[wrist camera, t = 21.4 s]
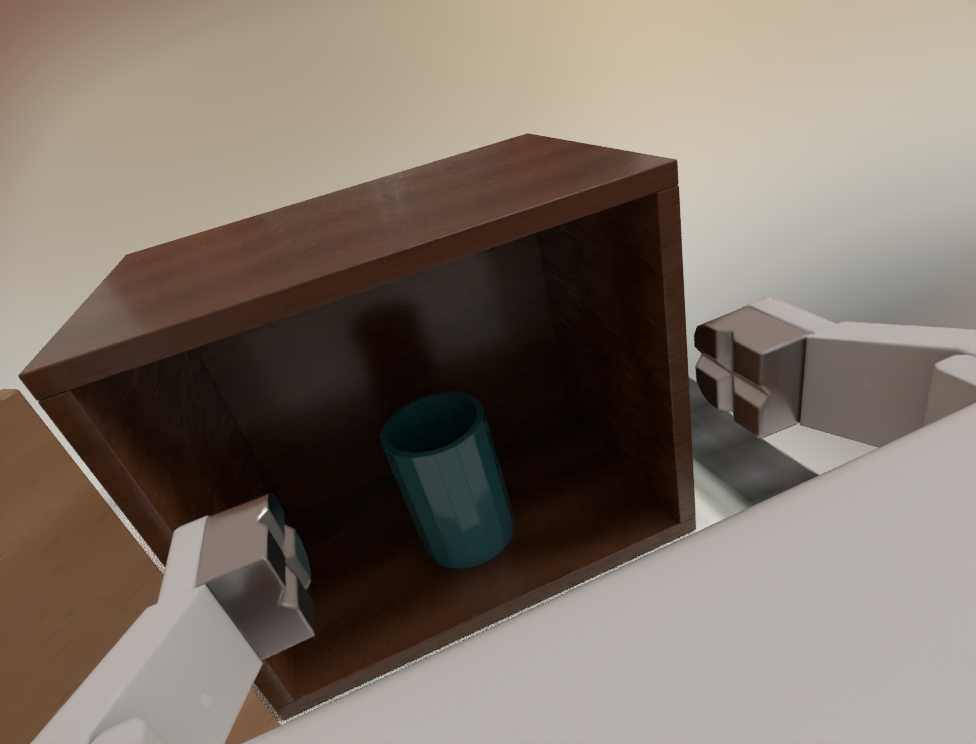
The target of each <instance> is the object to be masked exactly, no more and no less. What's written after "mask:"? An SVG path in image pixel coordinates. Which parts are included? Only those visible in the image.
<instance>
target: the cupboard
mask: <svg viewBox="0 0 976 744" xmlns="http://www.w3.org/2000/svg"><path fill="white" fill-rule="evenodd" d="M679 200H680V199H679V186H678V167H677V160H676V159H670V158H664V157H658V156H653V155H647V154H641V153H636V152H630V151H624V150H619V149H613V148H607V147H602V146H596V145H590V144H584V143H579V142H573V141H567V140H562V139H556V138H550V137H545V136H539V135H533V134H525V135H521V136H518V137H515V138H511V139H508V140H504V141H501V142H498V143H495V144H492V145H488V146H485V147H481V148H478V149H475V150H471V151H469V152H465V153H462V154H458V155H455V156H452V157H448V158H445V159H442V160H438V161H435V162H432V163H428V164H425V165H422V166H418V167H415V168H412V169H409V170H405V171H402V172H399V173H395V174H392V175H389V176H386V177H382V178H379V179H376V180H372V181H369V182H366V183H362V184H359V185H356V186H352V187H350V188H346V189H343V190H339V191H336V192H333V193H329V194H326V195H323V196H319V197H316V198H313V199H309V200H306V201H303V202H300V203H296V204H293V205H290V206H286V207H283V208H280V209H276V210H273V211H270V212H266V213H263V214H260V215H256V216H253V217H250V218H247V219H243V220H240V221H237V222H233V223H230V224H227V225H223V226H220V227H217V228H214V229H210V230H207V231H204V232H200V233H197V234H194V235H190V236H187V237H184V238H180V239H177V240H174V241H170V242H167V243H164V244H161V245H157V246H154V247H151V248H147V249H144V250H141V251H138V252H134V253H131V254H128V255H126V256H125V257H124V258H123V259H122V260H121V261H120V262H119V264H118V265H117V266H116V267H115V268H114V269H113V270H112V271H111V273H110V274H109V275H108V276H107V277H106V278H105V279H104V280H103V282H102V283H101V284H100V285H99V286H98V287H97V288H96V289H95V291H93V293H92V294H91V295H90V296H89V297H88V298H87V299H86V300H85V302H84V303H83V304H82V305H81V306H80V307H79V308H78V309H77V310H76V312H75V313H74V314H73V315H72V316H71V317H70V318H69V319H68V321H67V322H66V323H65V324H64V325H63V326H62V327H61V328H60V329H59V331H58V332H57V333H56V334H55V335H54V336H53V337H52V338H51V339H50V341H49V342H48V343H47V344H46V345H45V346H44V347H43V348H42V350H41V351H40V352H39V353H38V354H37V355H36V356H35V357H34V359H33V360H32V361H31V362H30V363H29V364H28V365H27V366H26V367H25V368H24V370H23V371H22V372H21V373H20V374H19V375H18V376H19V378H20V380H21V381H22V382H23V383H24V385H25V386H26V387H27V389H28V390H29V391H30V392H31V394H32V395H33V396H34V398H35V399H36V400H37V401H38V400H39V401H38V403H39V404H40V406H41V407H42V408H43V410H44V411H45V412H46V413H47V415H48V416H49V417H50V419H51V420H52V421H53V423H54V424H55V425H56V426H57V428H58V429H59V430H60V432H61V433H62V434H63V435H64V437H65V438H66V439H67V441H68V442H69V443H70V445H71V446H72V447H73V448H74V450H75V451H76V452H77V454H78V455H79V456H80V458H81V459H82V460H83V461H84V463H85V464H86V465H87V467H88V468H89V469H90V471H91V472H92V473H93V474H94V476H95V477H96V478H97V480H98V481H99V482H100V484H101V485H102V486H103V487H104V489H105V490H106V491H107V493H108V494H109V495H110V496H111V498H112V499H113V500H114V502H115V503H116V504H117V506H118V507H119V508H120V509H121V511H122V512H123V513H124V515H125V516H126V517H127V519H128V520H129V521H130V522H131V524H132V525H133V526H134V528H135V529H136V530H137V532H138V533H139V534H140V535H141V537H142V538H143V539H144V541H145V542H146V543H147V544H148V546H149V547H150V548H151V550H152V551H153V552H154V554H155V555H156V556H157V557H158V559H159V560H160V561H161V563H162V564H163V565H164V567H166V562H167V558H168V554H169V549H170V545H171V541H172V537H173V533H174V531H175V530H176V529H177V528H178V527H179V526H182V525H184V524H187V523H189V522H192V521H194V520H197V519H199V518H202V517H204V516H210V515H211V514H213V513H215V512H218V511H221V510H224V509H226V508H229V507H232V506H234V505H237V504H240V503H243V502H245V501H248V500H251V499H253V498H256V497H259V496H261V495H264V494H267V493H270V492H271V493H272V494H274V495H275V496H276V497H277V499H278V501H279V502H280V504H281V506H282V507H283V509H284V522H285V525H287V526H289V527H292V528H294V529H295V530H296V532H297V534H298V535H299V537H300V539H301V541H302V544H303V546H304V548H305V551H306V554H307V558H308V562H309V566H310V573H311V583H310V584H309V586H308V588H307V589H306V591H307V593H308V595H309V597H310V598H311V600H312V602H313V613H314V628H315V636H313V637H311V638H309V639H307V640H304V641H302V642H300V643H298V644H296V645H294V646H292V647H290V648H287V649H285V650H283V651H281V652H279V653H277V654H275V655H273V656H271V657H268V658H266V659H264V660H262V663H263V664H262V666H261V668H260V670H259V673H258V675H257V677H256V679H255V681H254V683H255V685H256V686H257V687H258V688H259V690H260V691H261V692H262V694H263V695H264V696H265V697H266V699H267V700H268V701H269V703H270V704H271V705H272V707H273V708H274V709H275V710H276V712H277V713H278V714H279V716H280V717H281V718H282V720H285V719H287V718H289V717H291V716H293V715H295V714H298V713H300V712H302V711H304V710H306V709H308V708H311V707H313V706H315V705H317V704H319V703H321V702H323V701H326V700H328V699H330V698H332V697H334V696H336V695H339V694H341V693H343V692H345V691H347V690H349V689H352V688H354V687H356V686H358V685H360V684H362V683H365V682H367V681H369V680H371V679H373V678H375V677H377V676H380V675H382V674H384V673H386V672H388V671H390V670H393V669H395V668H397V667H399V666H401V665H403V664H406V663H408V662H410V661H412V660H414V659H416V658H419V657H421V656H423V655H425V654H427V653H429V652H431V651H434V650H436V649H438V648H440V647H442V646H444V645H447V644H449V643H451V642H453V641H455V640H457V639H460V638H462V637H464V636H466V635H468V634H470V633H473V632H475V631H477V630H479V629H481V628H483V627H486V626H488V625H490V624H492V623H494V622H496V621H498V620H501V619H503V618H505V617H507V616H509V615H511V614H514V613H516V612H518V611H520V610H522V609H524V608H527V607H529V606H531V605H533V604H535V603H537V602H540V601H542V600H544V599H546V598H548V597H550V596H552V595H555V594H557V593H559V592H561V591H563V590H565V589H568V588H570V587H572V586H574V585H576V584H578V583H581V582H583V581H585V580H587V579H589V578H591V577H594V576H596V575H598V574H600V573H602V572H604V571H607V570H609V569H611V568H613V567H615V566H617V565H619V564H622V563H624V562H626V561H628V560H630V559H632V558H635V557H637V556H639V555H641V554H643V553H645V552H648V551H650V550H652V549H654V548H656V547H658V546H661V545H663V544H665V543H667V542H669V541H671V540H673V539H676V538H678V537H680V536H682V535H684V534H686V533H689V532H691V531H693V530H695V529H696V520H695V497H694V477H693V457H692V437H691V417H690V398H689V378H688V358H687V339H686V318H685V299H684V280H683V259H682V239H681V219H680V201H679ZM445 391H453V392H464V393H467V394H469V395H471V396H473V397H476V398H477V399H478V400H479V401H480V403H481V404H482V406H483V407H484V410H485V414H486V417H487V421H488V424H489V428H490V431H491V435H492V439H493V442H494V446H495V449H496V453H497V456H498V460H499V464H500V467H501V471H502V474H503V478H504V481H505V485H506V489H507V492H508V496H509V499H510V503H511V506H512V510H513V517H514V523H515V525H514V531H513V535H512V537H511V539H510V541H509V543H508V544H507V546H506V547H505V548H504V549H503V550H502V551H501V552H500V553H499V554H498V555H497V556H495V557H494V558H492V559H491V560H489V561H487V562H485V563H483V564H481V565H478V566H475V567H471V568H465V569H453V568H447V567H444V566H441V565H439V564H437V563H436V562H434V561H433V560H432V559H431V558H430V557H429V556H428V554H427V553H426V551H425V549H424V547H423V545H422V542H421V540H420V537H419V535H418V532H417V530H416V528H415V525H414V523H413V520H412V518H411V515H410V513H409V510H408V508H407V506H406V503H405V501H404V498H403V496H402V493H401V491H400V489H399V486H398V484H397V481H396V479H395V476H394V474H393V472H392V469H391V467H390V464H389V462H388V459H387V457H386V454H385V452H384V450H383V447H382V444H381V440H380V433H381V430H382V428H383V425H384V423H385V422H386V421H387V420H388V418H389V417H390V416H391V415H392V414H393V413H394V412H395V411H396V410H398V409H399V408H401V407H402V406H404V405H405V404H407V403H409V402H410V401H412V400H415V399H418V398H420V397H423V396H426V395H428V394H433V393H439V392H445Z"/></svg>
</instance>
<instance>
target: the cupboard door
mask: <svg viewBox="0 0 976 744" xmlns="http://www.w3.org/2000/svg"><path fill="white" fill-rule="evenodd" d="M162 579H163V574H162V573H161V571H160V570H159V569H158V568H157V566H156V565H155V564H154V562H153V561H152V560H151V559H150V557H149V556H148V555H147V554H146V552H145V551H144V550H143V548H142V547H141V546H140V545H139V543H138V542H137V541H136V539H135V538H134V537H133V536H132V534H131V533H130V532H129V530H128V529H127V528H126V527H125V525H124V524H123V523H122V522H121V520H120V519H119V518H118V516H117V515H116V514H115V513H114V511H113V510H112V509H111V507H110V506H109V505H108V504H107V502H106V501H105V500H104V499H103V497H102V496H101V495H100V493H99V492H98V491H97V490H96V489H95V487H94V486H93V484H92V483H91V482H90V481H89V479H88V478H87V477H86V476H85V474H84V473H83V472H82V471H81V469H80V468H79V467H78V465H77V464H76V463H75V461H74V460H73V459H72V458H71V456H70V455H69V454H68V453H67V451H66V450H65V449H64V447H63V446H62V445H61V444H60V442H59V441H58V440H57V438H56V437H55V436H54V435H53V433H52V432H51V431H50V429H49V428H48V427H47V426H46V425H45V423H44V422H43V421H42V419H41V418H40V417H39V415H38V414H37V413H36V412H35V410H34V409H33V408H32V406H31V405H30V404H29V403H28V401H27V400H26V399H25V397H24V396H23V395H22V394H21V392H20V391H19V390H17V389H2V390H0V744H30V743H31V742H32V741H33V740H34V739H35V737H36V736H37V735H38V734H39V733H40V732H41V730H42V729H43V728H44V727H45V726H46V725H47V723H48V722H49V721H50V720H51V719H52V718H53V716H54V715H55V714H56V713H57V712H58V711H59V709H60V708H61V707H62V706H63V705H64V704H65V702H66V701H67V700H68V699H69V698H70V697H71V696H72V694H73V693H74V692H75V691H76V690H77V689H78V687H79V686H80V685H81V684H82V683H83V682H84V680H85V679H86V678H87V677H88V676H89V675H90V673H91V672H92V671H93V670H94V669H95V668H96V666H97V665H98V664H99V663H100V662H101V661H102V659H103V658H104V657H105V656H106V655H107V654H108V652H109V651H110V650H111V649H112V648H113V647H114V645H115V644H116V643H117V642H118V641H119V640H120V638H121V637H122V636H123V635H124V634H125V633H126V631H127V630H128V629H129V628H130V627H131V626H132V624H133V623H134V622H135V621H136V620H137V619H138V617H139V616H140V615H141V614H142V613H143V612H144V610H145V609H146V608H148V607H150V606H152V605H155V604H157V601H158V596H159V592H160V588H161V584H162ZM279 726H281V725H280V724H279V722H278V721H277V720H276V719H275V717H274V716H273V715H272V713H271V712H270V711H269V710H268V708H267V707H266V706H265V704H264V703H263V702H262V701H261V699H260V698H259V697H258V696H257V694H256V693H255V692H254V690H253V689H252V688H251V689H250V691H249V693H248V696H247V698H246V700H245V702H244V704H243V706H242V708H241V710H240V712H239V714H238V716H237V719H236V721H235V723H234V725H233V727H232V729H231V731H230V733H229V735H228V737H227V739H226V742H225V744H242V743H244V742H246V741H249V740H251V739H253V738H255V737H257V736H259V735H262V734H264V733H266V732H268V731H270V730H272V729H274V728H277V727H279Z"/></svg>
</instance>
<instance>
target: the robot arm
mask: <svg viewBox="0 0 976 744" xmlns="http://www.w3.org/2000/svg"><path fill="white" fill-rule="evenodd" d="M694 341H695V343H694V344H695V347H696V348H697V349H698V350H699V351H700V352H701V353H702V354H701V356H700V358H699V360H698V362H697V365H696V366H695V367H696V379H697V383H698V385H699V388H700V390H701V392H702V394H703V395H704V397H705V398H706V399H707V400H708V402H709V403H711V404H712V405H713V406H715V407H716V408H717V409H721V410H726V411H731V412H733V414H734V421H735V422H737V423H738V424H740V425H741V426H742V427H744V428H745V429H747V430H748V431H749V432H751V433H752V434H754V435H755V436H756V437H758V438H759V439H762V438H764V437H766V436H769V435H772V434H774V433H777V432H779V431H781V430H784V429H786V428H789V427H791V426H794V425H796V424H798V423H800V425H802V426H806V427H809V428H812V429H816V430H819V431H823V432H826V433H830V434H833V435H837V436H841V437H844V438H847V439H851V440H855V441H858V442H861V443H865V444H868V445H872V446H875V447H879V448H877V449H875V450H873V451H871V452H869V453H867V454H865V455H863V456H860V457H858V458H856V459H854V460H852V461H849V462H847V463H845V464H843V465H841V466H839V467H836V468H834V469H832V470H830V471H828V472H826V473H823V474H821V475H819V476H817V477H815V478H813V479H810V480H808V481H806V482H804V483H802V484H800V485H797V486H795V487H793V488H791V489H789V490H787V491H784V492H782V493H780V494H778V495H776V496H774V497H771V498H769V499H767V500H765V501H763V502H761V503H758V504H756V505H754V506H752V507H750V508H748V509H745V510H743V511H741V512H739V513H737V514H735V515H733V516H730V517H728V518H726V519H724V520H722V521H720V522H717V523H715V524H713V525H711V526H709V527H707V528H704V529H702V530H700V531H698V532H696V533H694V534H692V535H689V536H687V537H685V538H683V539H681V540H679V541H676V542H674V543H672V544H670V545H668V546H666V547H664V548H661V549H659V550H657V551H655V552H653V553H651V554H649V555H646V556H644V557H642V558H640V559H638V560H636V561H634V562H631V563H629V564H627V565H625V566H623V567H621V568H619V569H616V570H614V571H612V572H610V573H608V574H606V575H604V576H601V577H599V578H597V579H595V580H593V581H591V582H588V583H586V584H584V585H582V586H580V587H578V588H576V589H573V590H571V591H569V592H567V593H565V594H563V595H561V596H558V597H556V598H554V599H552V600H550V601H548V602H546V603H543V604H541V605H539V606H537V607H535V608H533V609H531V610H528V611H526V612H524V613H522V614H520V615H518V616H515V617H513V618H511V619H509V620H507V621H505V622H503V623H500V624H498V625H496V626H494V627H492V628H490V629H487V630H485V631H483V632H481V633H479V634H477V635H475V636H472V637H470V638H468V639H466V640H464V641H462V642H460V643H457V644H455V645H453V646H451V647H449V648H447V649H444V650H442V651H440V652H438V653H436V654H434V655H432V656H429V657H427V658H425V659H423V660H421V661H419V662H416V663H414V664H412V665H410V666H408V667H406V668H404V669H401V670H399V671H397V672H395V673H393V674H391V675H389V676H386V677H384V678H382V679H380V680H378V681H376V682H373V683H371V684H369V685H367V686H365V687H363V688H361V689H358V690H356V691H354V692H352V693H350V694H348V695H345V696H343V697H341V698H339V699H337V700H335V701H333V702H330V703H328V704H326V705H324V706H322V707H320V708H318V709H315V710H313V711H311V712H309V713H307V714H305V715H302V716H300V717H298V718H296V719H294V720H292V721H290V722H287V723H285V724H283V725H281V726H279V727H277V728H274V729H272V730H270V731H268V732H266V733H264V734H262V735H259V736H257V737H255V738H253V739H251V740H249V741H246V742H244V743H242V744H976V330H973V329H958V328H942V327H926V326H910V325H894V324H878V323H877V324H876V323H861V322H845V321H844V322H841V323H839V324H836V323H833V322H831V321H829V320H826V319H824V318H821V317H818V316H817V315H814V314H812V313H809V312H807V311H804V310H802V309H800V308H797V307H795V306H792V305H790V304H788V303H785V302H783V301H780V300H778V299H775V298H762V299H760V300H758V301H756V302H753V303H751V304H749V305H746V306H744V307H742V308H740V309H738V310H736V311H733V312H731V313H729V314H726V315H723V316H721V317H719V318H716V319H714V320H711V321H709V322H706V323H704V324H702V325H699V326H697V328H696V331H695V334H694ZM310 583H311V573H310V566H309V562H308V558H307V554H306V551H305V548H304V546H303V544H302V541H301V539H300V537H299V535H298V534H297V532H296V530H295V529H294V528H292V527H289V526H287V525H285V522H284V509H283V507H282V506H281V504H280V502H279V501H278V499H277V497H276V496H275V495H274V494H272V493H271V492H270V493H267V494H264V495H261V496H259V497H256V498H253V499H251V500H248V501H245V502H243V503H240V504H237V505H234V506H232V507H229V508H226V509H224V510H221V511H218V512H215V513H213V514H211V515H210V516H204V517H202V518H199V519H197V520H194V521H192V522H189V523H187V524H184V525H182V526H179V527H178V528H177V529H176V530H175V531H174V533H173V537H172V541H171V545H170V549H169V554H168V558H167V562H166V567H165V571H164V575H163V579H162V584H161V588H160V592H159V596H158V601H157V604H155V605H152V606H150V607H148V608H146V609H145V610H144V612H143V613H142V614H141V615H140V616H139V617H138V619H137V620H136V621H135V622H134V623H133V624H132V626H131V627H130V628H129V629H128V630H127V631H126V633H125V634H124V635H123V636H122V637H121V638H120V640H119V641H118V642H117V643H116V644H115V645H114V647H113V648H112V649H111V650H110V651H109V652H108V654H107V655H106V656H105V657H104V658H103V659H102V661H101V662H100V663H99V664H98V665H97V666H96V668H95V669H94V670H93V671H92V672H91V673H90V675H89V676H88V677H87V678H86V679H85V680H84V682H83V683H82V684H81V685H80V686H79V687H78V689H77V690H76V691H75V692H74V693H73V694H72V696H71V697H70V698H69V699H68V700H67V701H66V702H65V704H64V705H63V706H62V707H61V708H60V709H59V711H58V712H57V713H56V714H55V715H54V716H53V718H52V719H51V720H50V721H49V722H48V723H47V725H46V726H45V727H44V728H43V729H42V730H41V732H40V733H39V734H38V735H37V736H36V737H35V739H34V740H33V741H32V742H31V743H30V744H225V742H226V739H227V737H228V735H229V733H230V731H231V729H232V727H233V725H234V723H235V721H236V719H237V716H238V714H239V712H240V710H241V708H242V706H243V704H244V702H245V700H246V698H247V696H248V693H249V691H250V689H251V687H252V685H253V683H254V681H255V679H256V677H257V675H258V673H259V670H260V668H261V666H262V664H263V663H262V660H264V659H266V658H268V657H271V656H273V655H275V654H277V653H279V652H281V651H283V650H285V649H287V648H290V647H292V646H294V645H296V644H298V643H300V642H302V641H304V640H307V639H309V638H311V637H313V636H315V628H314V613H313V602H312V600H311V598H310V597H309V595H308V593H307V591H306V589H307V588H308V586H309V584H310Z"/></svg>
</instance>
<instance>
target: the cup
mask: <svg viewBox="0 0 976 744" xmlns="http://www.w3.org/2000/svg"><path fill="white" fill-rule="evenodd" d="M380 440H381V444H382V447H383V450H384V452H385V454H386V457H387V459H388V462H389V464H390V467H391V469H392V472H393V474H394V476H395V479H396V481H397V484H398V486H399V489H400V491H401V493H402V496H403V498H404V501H405V503H406V506H407V508H408V510H409V513H410V515H411V518H412V520H413V523H414V525H415V528H416V530H417V532H418V535H419V537H420V540H421V542H422V545H423V547H424V549H425V551H426V553H427V554H428V556H429V557H430V558H431V559H432V560H433V561H434V562H436V563H437V564H439V565H441V566H444V567H447V568H453V569H465V568H471V567H475V566H478V565H481V564H483V563H485V562H487V561H489V560H491V559H492V558H494V557H495V556H497V555H498V554H499V553H500V552H501V551H502V550H503V549H504V548H505V547H506V546H507V544H508V543H509V541H510V539H511V537H512V535H513V531H514V525H515V523H514V517H513V510H512V506H511V503H510V499H509V496H508V492H507V489H506V485H505V481H504V478H503V474H502V471H501V467H500V464H499V460H498V456H497V453H496V449H495V446H494V442H493V439H492V435H491V431H490V428H489V424H488V421H487V417H486V414H485V410H484V407H483V406H482V404H481V403H480V401H479V400H478V399H477V398H476V397H473V396H471V395H469V394H467V393H464V392H453V391H445V392H439V393H433V394H428V395H426V396H423V397H420V398H418V399H415V400H412V401H410V402H409V403H407V404H405V405H404V406H402V407H401V408H399V409H398V410H396V411H395V412H394V413H393V414H392V415H391V416H390V417H389V418H388V420H387V421H386V422H385V423H384V425H383V428H382V430H381V433H380Z"/></svg>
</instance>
